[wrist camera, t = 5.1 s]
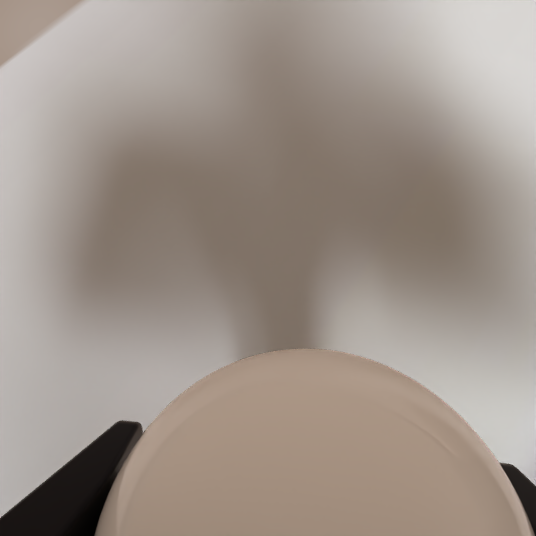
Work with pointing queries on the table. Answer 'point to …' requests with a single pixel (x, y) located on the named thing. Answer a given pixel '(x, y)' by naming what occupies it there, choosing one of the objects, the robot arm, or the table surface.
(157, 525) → the lightbulb
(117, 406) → the table surface
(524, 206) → the table surface
